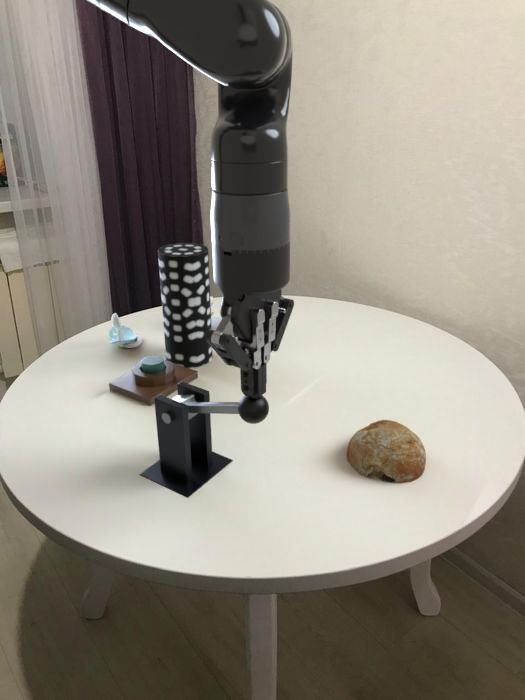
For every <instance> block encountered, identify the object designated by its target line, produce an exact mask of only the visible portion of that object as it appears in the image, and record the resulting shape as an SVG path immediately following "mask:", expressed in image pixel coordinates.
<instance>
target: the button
mask: <svg viewBox="0 0 525 700" xmlns="http://www.w3.org/2000/svg"><path fill="white" fill-rule="evenodd" d="M164 359H165V358H164V357H163V356H162V355H157V354H151V355H146V356H144V357H142V359H141V360H140V362H141V366H142V372H143V373H146V374H155V373H160V372H162V371H164V369H165V365H164Z"/></svg>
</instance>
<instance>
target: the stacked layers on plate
mask: <svg viewBox="0 0 525 700" xmlns="http://www.w3.org/2000/svg"><path fill="white" fill-rule="evenodd" d="M213 299H214V296H211V295H210V304H211V329H212V330H216V329H217V327H218V325H219V323H220V321H221V320H222V317H221V316H219V317H218V316H214V315H215V312H214V311H213V307H214V302H212V300H213Z"/></svg>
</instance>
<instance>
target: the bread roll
mask: <svg viewBox="0 0 525 700" xmlns="http://www.w3.org/2000/svg"><path fill="white" fill-rule="evenodd" d="M345 457H346V460H347V461H348V462H349V463H350V465H351V467H352V468H353V469H354V471H355V472H357V473H358V474H359V475H361V476H363V477H365V478H367V479H371V478H378V479H379V480H382V482H385V483H394V484H405V483H413V482H414V481H417V480H418V479H420V478H421V477H422V476H423V474H424V472H425V470H426V463H427V458H426V457H427V456H426V448H425V445H424V443H423V442H422V440H421V438H420V437H419V436H418V435H417V434H416V433H415V432H413V431H412V430H411V429H410V428H409V427H407V426H406V425H405V424H402V423H400V422H397V421H395V420H391V419H380V420H377V421H374V422H371V423H369V425H366V426H365V427H362V428H360V429H358V430H357V431H356V432H355V433H354V434H353V435H352V437H351V438H350V440H349V442H348V443H347V448H346V456H345Z"/></svg>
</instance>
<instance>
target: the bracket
mask: <svg viewBox="0 0 525 700" xmlns="http://www.w3.org/2000/svg"><path fill="white" fill-rule="evenodd" d="M176 392H177V395H194V396H195V399H196V402H211V398H210V396H211V395H210V391H209V390H208V389H204V388H201V387H199V386H196V385H194V384H191V383H185V382H180V383H179V384H177V391H176ZM154 402H155V404H154V411H155V422H156V432H157V433H156V434H157V442H158V443H157V444H158V455H159V456H158V457H159V460H157V461H156V462H154V463H153V464H151V465H150V466H149V467H147V468H146V469H145V470H143V471H142V472H141V473H139V476H141V477H143V478H145V479H147V480H149V481H151V482H153V483H156V484H157V485H160V486H162V487H164V488H166V489H168V490H170V491H172V492H174V493H176V494H178V495H180V496H182V497H184V498H187V499H189V498H190V497H191V496H192V495H193V494H195V493H196V492H197V491H198V490H200V489H201V488H202V487H203V486H204V485H206V484H207V483H208V482H209V481H210V480H212V479H213V478H214V477H215V476H217V475H218V474H219V473H220V472H221V471H223V470H224V469H226V467H227V466H229V465H230V464H231V463H232V462H233V461H234V460H233V459H231V458H229V457H227V456H224V455H221V454H220V453H217V452H214V451H213V443H212V419H211V417H212V416H211V413H198V414H197V415H195V416H194V417H192V418H191V419H189V418H188V405H186V404H183V403H181V402H178V401H175V400H173V399H172V398H170V397H168V396H167V397H165V396H162V395H158V396H157V397H155V398H154Z"/></svg>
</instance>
